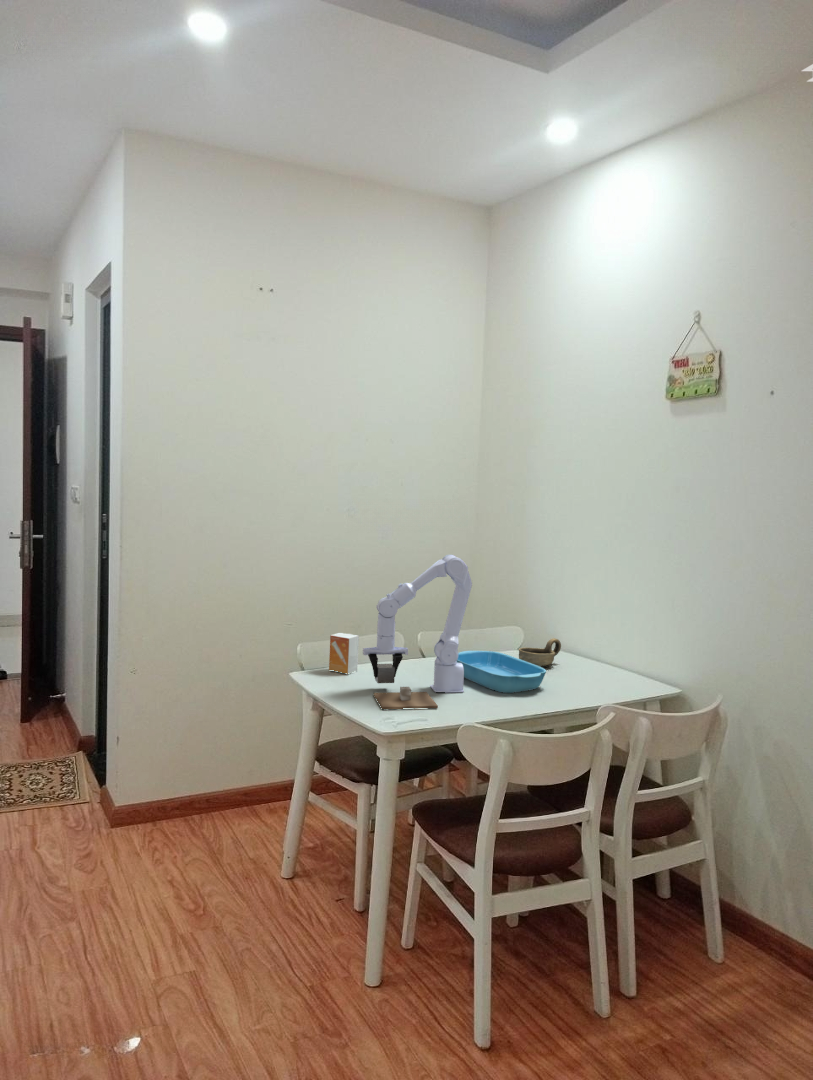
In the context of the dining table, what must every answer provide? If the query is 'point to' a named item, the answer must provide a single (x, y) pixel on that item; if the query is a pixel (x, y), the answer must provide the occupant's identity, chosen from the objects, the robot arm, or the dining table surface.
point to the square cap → (385, 673)
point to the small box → (343, 652)
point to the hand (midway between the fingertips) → (384, 676)
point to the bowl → (540, 653)
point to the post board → (400, 704)
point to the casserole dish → (500, 671)
